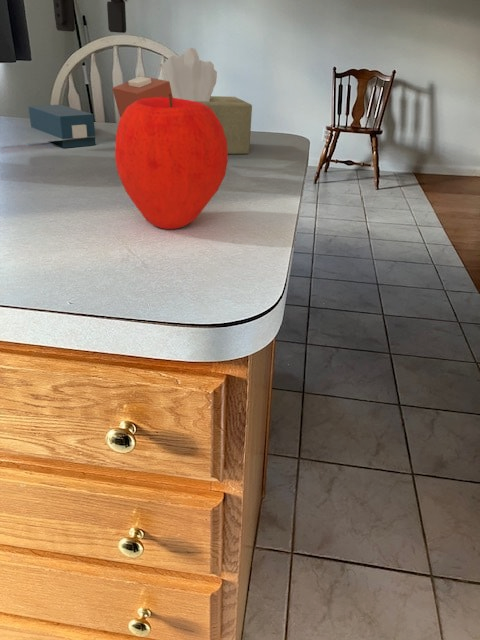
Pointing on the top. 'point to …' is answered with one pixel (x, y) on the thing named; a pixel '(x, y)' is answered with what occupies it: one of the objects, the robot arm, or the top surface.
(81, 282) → the top surface
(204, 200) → the apple
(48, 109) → the tissue pack back
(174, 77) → the tissue box
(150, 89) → the tissue pack front
